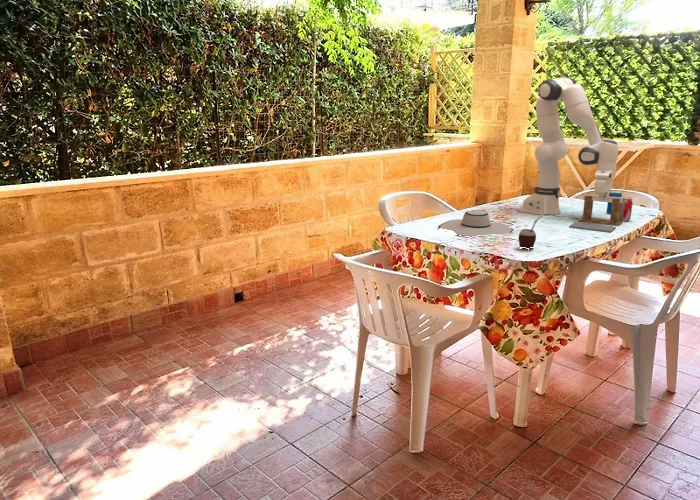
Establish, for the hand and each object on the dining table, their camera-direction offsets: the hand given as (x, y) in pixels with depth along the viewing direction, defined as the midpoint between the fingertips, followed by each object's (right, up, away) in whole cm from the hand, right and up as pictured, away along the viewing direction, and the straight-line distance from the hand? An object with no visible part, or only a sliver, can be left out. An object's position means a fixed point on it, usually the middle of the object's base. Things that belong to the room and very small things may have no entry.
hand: (602, 200), depth 261 cm
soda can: (+13, -10, +6) cm, 17 cm away
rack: (0, -11, +3) cm, 11 cm away
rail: (0, 0, 0) cm, 0 cm away
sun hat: (-65, -15, -4) cm, 67 cm away
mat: (-9, -14, -8) cm, 19 cm away
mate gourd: (-52, -25, -40) cm, 70 cm away
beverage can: (+16, -5, +22) cm, 28 cm away
